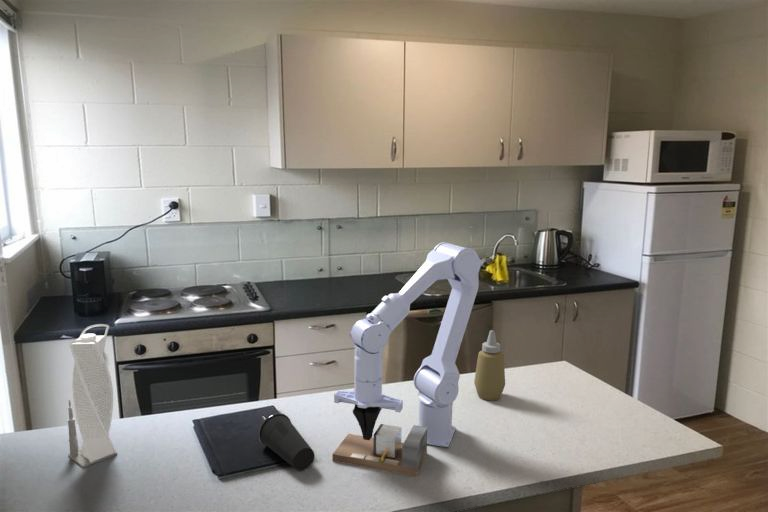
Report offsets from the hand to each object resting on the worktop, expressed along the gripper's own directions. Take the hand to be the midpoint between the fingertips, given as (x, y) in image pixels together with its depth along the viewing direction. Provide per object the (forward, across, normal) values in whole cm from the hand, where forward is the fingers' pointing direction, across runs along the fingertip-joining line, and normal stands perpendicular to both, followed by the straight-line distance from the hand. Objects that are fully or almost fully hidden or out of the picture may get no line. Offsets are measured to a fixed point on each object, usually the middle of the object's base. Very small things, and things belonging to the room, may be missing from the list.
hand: (367, 437), depth 122 cm
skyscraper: (+4, -54, -18) cm, 57 cm away
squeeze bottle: (+4, +21, +38) cm, 44 cm away
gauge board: (+4, +3, 0) cm, 5 cm away
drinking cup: (+1, -10, -10) cm, 14 cm away
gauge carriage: (+2, +4, -1) cm, 5 cm away
